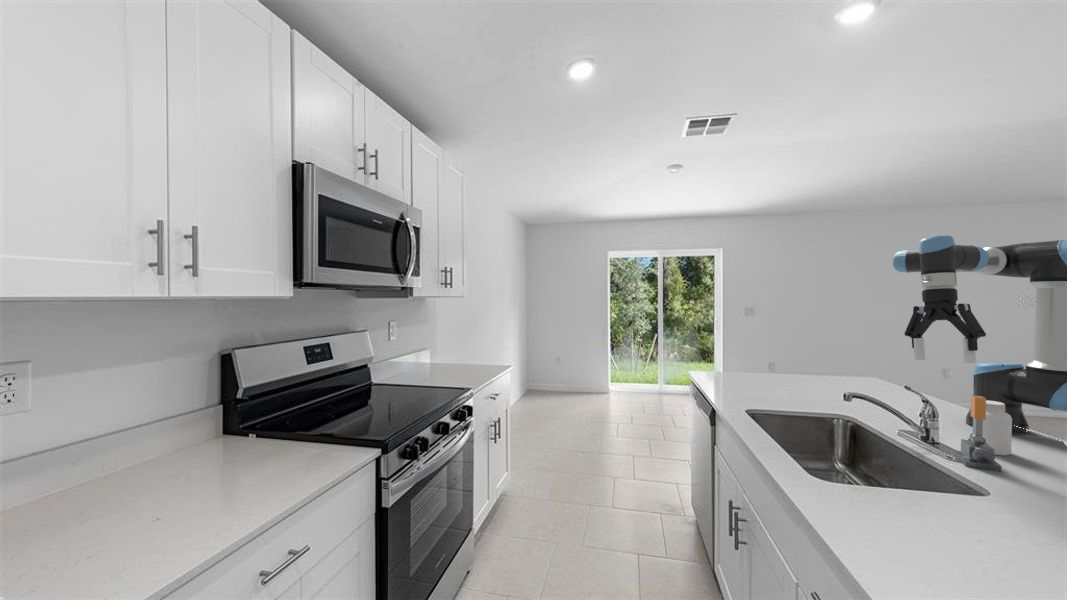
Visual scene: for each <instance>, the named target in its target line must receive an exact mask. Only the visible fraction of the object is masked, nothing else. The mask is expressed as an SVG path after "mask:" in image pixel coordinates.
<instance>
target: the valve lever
mask: <svg viewBox="0 0 1067 600" xmlns="http://www.w3.org/2000/svg"><path fill="white" fill-rule="evenodd" d="M970 408H971V417H973V426H972V433H970V434H969V436H968V437H969V439H971V440H972V441H973V442H975V443H976V444H978V445H983V444H985V443H986V440H985V439H984V438H983V420H986V398H984V397H982V396H973V394H971V395H970Z"/></svg>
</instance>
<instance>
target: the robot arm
mask: <svg viewBox="0 0 1067 600" xmlns="http://www.w3.org/2000/svg"><path fill="white" fill-rule="evenodd" d="M918 246H919V248H917V249H916V248H914V249H907V250H906V249H905V250H900V251H897V252H896V253H895V254H894V256H893V258H892V266H893V268H894V269H895V270H896V272H899V273H908V274H909V273H920V277H921V278H920V281H921V288H922V289H923V290H922V291H921V299H922V302H923V303H924V305H921V306H920V305H915V306H913V308H912V309H913V310H912V315H911V317H910V319H909V322H908V324H907V326H906V329H905V331H904V336H905V337H909V338H910V339H911V347H912V349H913V350H914V351H913V353H914V360H915V361H917V360H918V361H923V360H924V361H925V360H926V354H925V353H926V351H925V350H926V349H925V348H926V347H925V338H924V337H923V335H924V334H925V333H926V332H927V330H928V329H930V327H931V325H932V324H933V323H935V322H936V321H947V322H950V324H951V325H952V326H953V327H954V328H956V330H958V332H959V333H961V335H962V336H963V337H964V338H962V348H963V349H962V352H963V353H962V354H963V363H965V364H975V365H974V368H973V374H972V376H973V390H972V391H973V392H972V393H973V394H972V395H973V396H982V397H984V398H986V400H988V401H996V402H1001V403H1004V404H1005V410H1006V411H1004V412H1006V413H1008V414H1009V415H1010V416H1011V418H1012V435H1027V434H1029V433H1030V425H1029V423H1028V420H1027V418H1026V416H1025V413H1024V411H1023V404H1024V405H1029V406H1034V407H1040V408H1045V409H1050V410H1052V411H1060V412H1064V413H1065V412H1066V413H1067V239H1061V240H1050V241H1038V242H1027V243H1026V242H1025V243H1024V242H1022V243H1016V244H1009V245H1003V246H1002V245H1000V246H994V247H993V246H992V247H990V246H989V247H987V246H986V247H984V248H983V247H980V246H976V245H972V244H971V245H966V244H965V245H962V244H961V245H960V244H956V243H955V238H954V237H952V236H951V235H934V236H928V237H925V238H922V239H921V240H919V245H918ZM957 273H977V274H980V275H983V276H999V277H1008V278H1026V279H1027V278H1028V279H1029V283H1030V284H1031V285H1032V286H1034V288H1036V293H1035V318H1034V334H1033V335H1034V336H1033V338H1034V339H1033V357H1032V360H1031V361H1030V362H1027V364H1026V363H1025V367H1024V364H1022V363H1018V362H980V363H977V360H976V358H977V357H976V352H977V351H978V349H979V348H978V339H979V338H984V337H986V336H987V333H986V332H985V330H984V329H983V327H982V326H981V324H980V322H979V321H978V320H977V318H976V316H975V315H974V313H973V312H972V309H971V305H970V303H957V302H958V301H959V299H958V296H959V295H958V289H956V287H958V281H957ZM957 312H958V313H959V314H958V313H957ZM965 423H966V425H968V426H971V427H973V417H971V407H970V408H969V410H968V412H967V414H966V416H965ZM1014 425H1015V426H1014ZM1016 426H1018V427H1016ZM1019 427H1021V428H1019ZM1023 428H1024V429H1023ZM1026 429H1028V430H1029V431H1027V430H1026ZM1026 431H1027V432H1026Z"/></svg>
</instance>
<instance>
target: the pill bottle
mask: <svg viewBox="0 0 1067 600" xmlns="http://www.w3.org/2000/svg"><path fill="white" fill-rule="evenodd" d="M1004 411H1006V410H1005V404H1004V403H1001V402H996V401H988V400H986V420H983V438H984V439H985V440H986V443H987V444H988V445H989V446H991V447H992V448H993V449H995V451H994V455H995V456H1010V455H1011V454H1012V439H1013V438H1012V437H1013V434H1012V418H1011V416H1010V415H1009V414H1008V413H1006V412H1004Z"/></svg>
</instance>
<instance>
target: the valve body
mask: <svg viewBox="0 0 1067 600" xmlns="http://www.w3.org/2000/svg"><path fill="white" fill-rule="evenodd" d="M994 451H995V449H993V448H992V447H991V446H989V445H988V444H987V443H985V444H983V445H978V444H976V443H975V442H973V441H972V440H971V439H970V438H965V439H964V438H963V439H962V438H961V439H960V450H954V457H955V458H956V459H957V460H959V461H960V462H961V463H962V464H963V465H964V466H965V467H969V468H975V469H982V470H990V471H993V472H995V471H996V472H1002V465H1001V464H1000V463H998V462H997V461H996V455H994Z"/></svg>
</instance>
